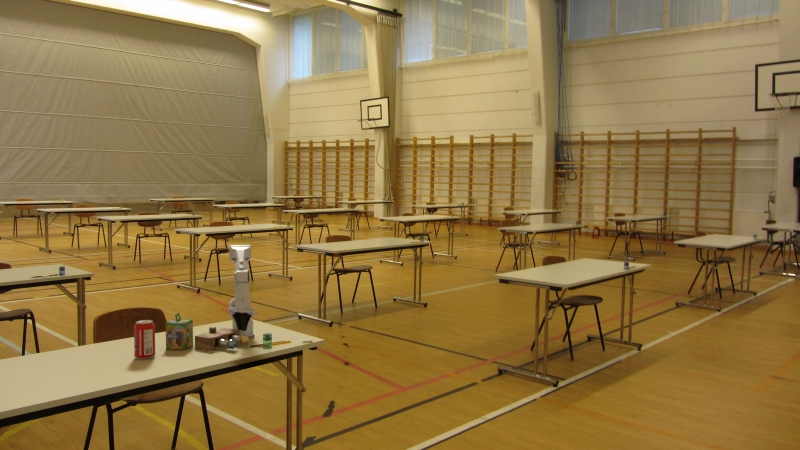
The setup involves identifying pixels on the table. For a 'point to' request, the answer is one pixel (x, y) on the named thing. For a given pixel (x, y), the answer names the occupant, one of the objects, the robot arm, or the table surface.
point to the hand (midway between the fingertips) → (242, 330)
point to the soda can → (144, 339)
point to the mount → (208, 339)
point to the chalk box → (179, 333)
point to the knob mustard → (239, 339)
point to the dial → (212, 329)
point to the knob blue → (226, 343)
